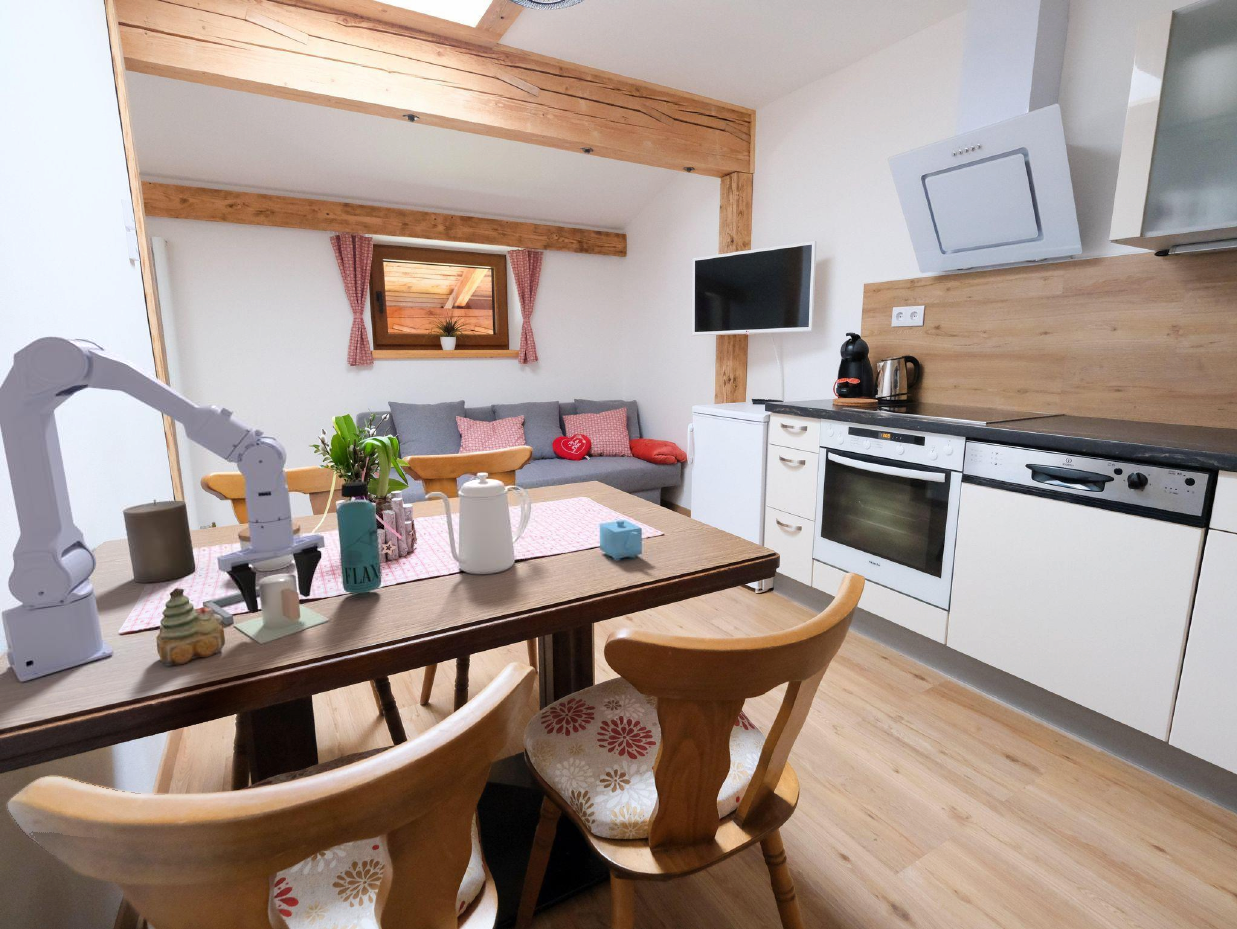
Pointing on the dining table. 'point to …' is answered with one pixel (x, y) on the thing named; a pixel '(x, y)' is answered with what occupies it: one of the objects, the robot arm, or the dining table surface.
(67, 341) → the robot arm
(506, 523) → the coffeepot
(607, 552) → the teapot
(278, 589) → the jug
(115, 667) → the dining table surface
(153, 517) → the pillar candle
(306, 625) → the pad
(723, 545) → the dining table surface
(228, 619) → the cradle
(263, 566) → the lidded jar
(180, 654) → the ornament
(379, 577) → the beverage bottle
